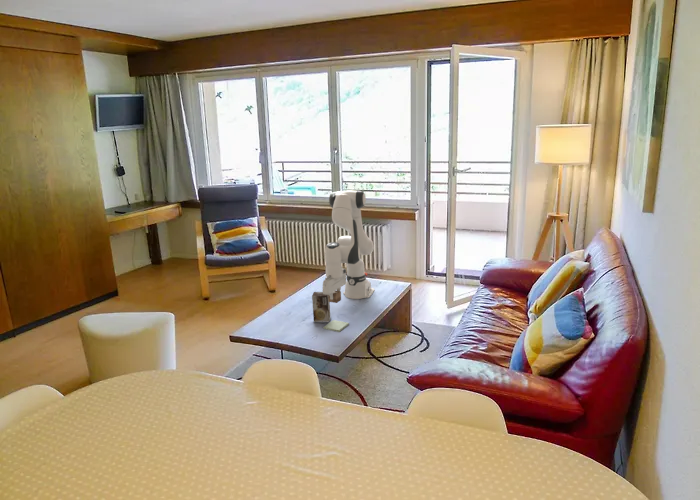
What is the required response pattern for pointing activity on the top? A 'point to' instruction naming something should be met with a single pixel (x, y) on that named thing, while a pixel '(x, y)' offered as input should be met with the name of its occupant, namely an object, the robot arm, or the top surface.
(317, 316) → the coffee box
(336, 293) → the walnut cube
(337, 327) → the sage board
